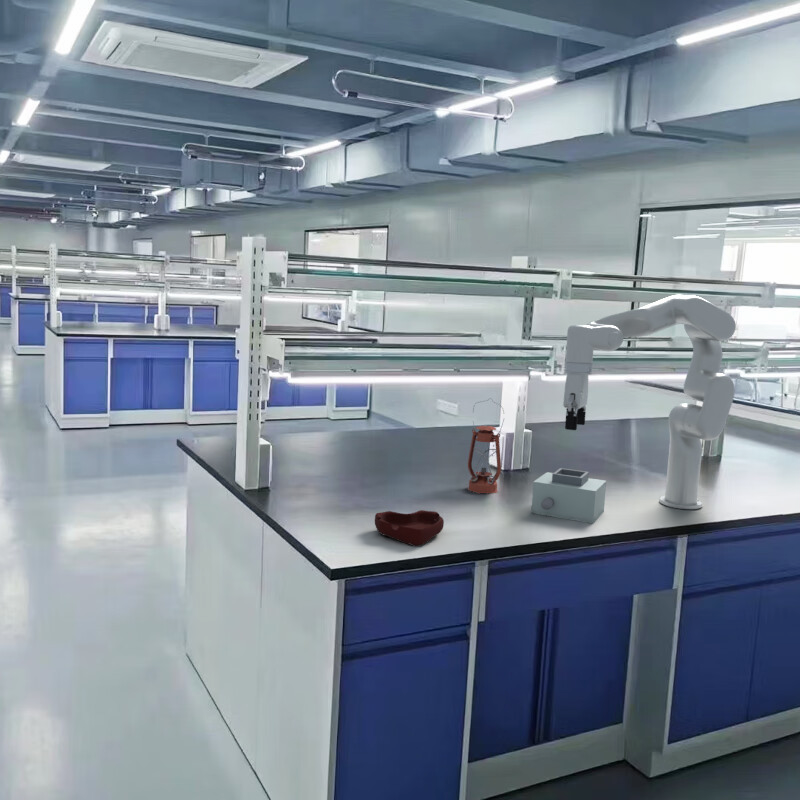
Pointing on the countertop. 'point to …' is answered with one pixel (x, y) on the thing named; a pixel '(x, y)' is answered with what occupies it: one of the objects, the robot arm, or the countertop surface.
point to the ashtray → (410, 526)
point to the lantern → (483, 479)
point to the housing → (569, 495)
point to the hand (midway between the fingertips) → (575, 426)
